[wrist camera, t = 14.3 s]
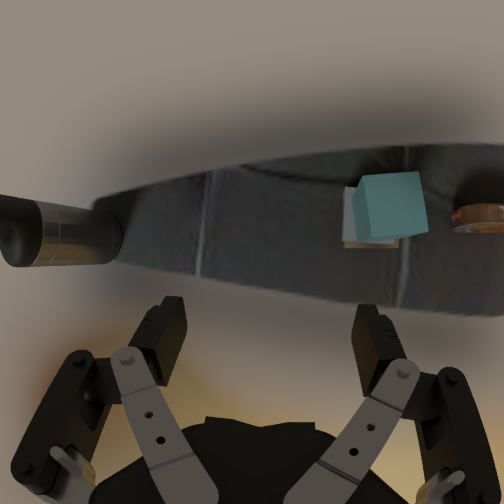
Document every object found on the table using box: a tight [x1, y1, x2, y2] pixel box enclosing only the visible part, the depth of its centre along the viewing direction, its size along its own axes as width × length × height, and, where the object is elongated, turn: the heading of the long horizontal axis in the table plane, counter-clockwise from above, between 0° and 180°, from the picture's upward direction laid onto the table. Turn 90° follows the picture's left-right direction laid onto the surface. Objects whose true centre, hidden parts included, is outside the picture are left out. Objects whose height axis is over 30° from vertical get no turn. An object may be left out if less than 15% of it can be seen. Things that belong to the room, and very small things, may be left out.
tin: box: [452, 203, 504, 233], centre depth 29 cm, size 15×3×8 cm, turn 91°
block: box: [351, 171, 428, 243], centre depth 27 cm, size 5×5×10 cm
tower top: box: [342, 187, 394, 245], centre depth 34 cm, size 6×6×4 cm
